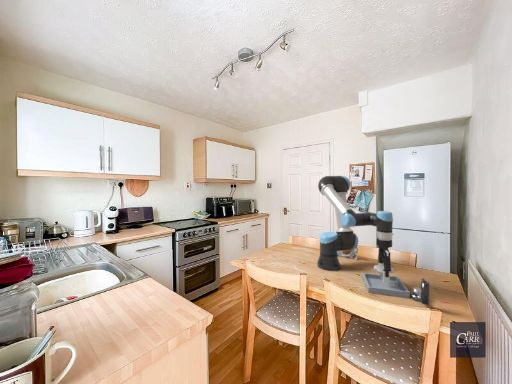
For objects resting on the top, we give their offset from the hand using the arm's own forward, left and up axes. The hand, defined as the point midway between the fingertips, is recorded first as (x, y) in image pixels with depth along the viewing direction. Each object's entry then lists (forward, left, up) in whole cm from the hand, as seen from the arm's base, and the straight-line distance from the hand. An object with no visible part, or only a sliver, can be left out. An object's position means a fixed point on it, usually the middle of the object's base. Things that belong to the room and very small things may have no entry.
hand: (383, 278), depth 120 cm
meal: (-15, +43, -5) cm, 46 cm away
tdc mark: (+24, -9, -5) cm, 26 cm away
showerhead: (0, 0, 0) cm, 0 cm away
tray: (0, 0, -5) cm, 5 cm away
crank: (+13, -13, -3) cm, 19 cm away
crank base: (+13, -9, -5) cm, 16 cm away
